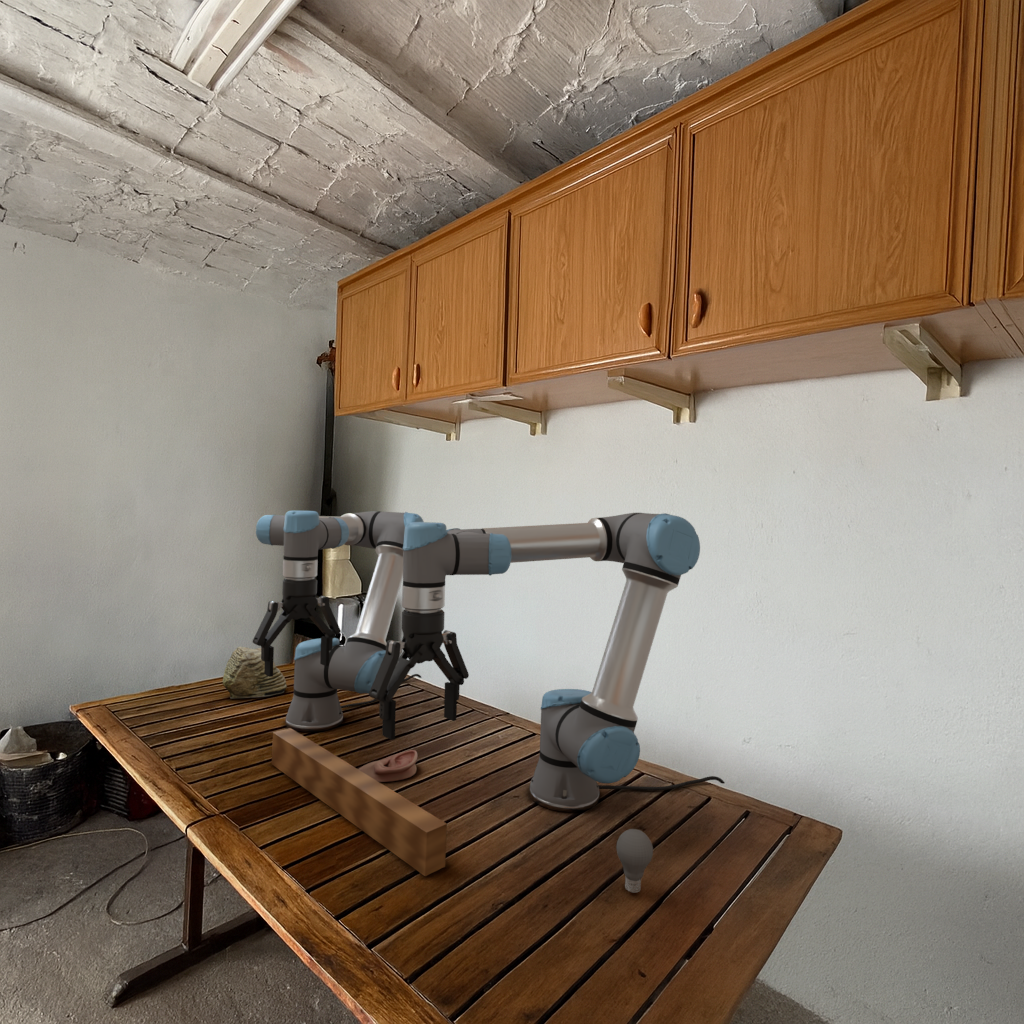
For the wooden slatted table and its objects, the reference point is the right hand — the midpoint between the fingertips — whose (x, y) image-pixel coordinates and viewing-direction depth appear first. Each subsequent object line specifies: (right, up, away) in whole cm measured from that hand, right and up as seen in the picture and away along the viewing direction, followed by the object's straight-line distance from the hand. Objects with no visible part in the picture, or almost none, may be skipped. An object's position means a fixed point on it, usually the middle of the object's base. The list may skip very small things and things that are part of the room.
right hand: (420, 727), depth 113 cm
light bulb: (+36, -25, -7) cm, 45 cm away
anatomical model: (-13, -22, +34) cm, 42 cm away
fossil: (-64, -19, +85) cm, 108 cm away
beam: (-18, -22, +17) cm, 33 cm away
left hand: (-33, +2, +33) cm, 47 cm away
